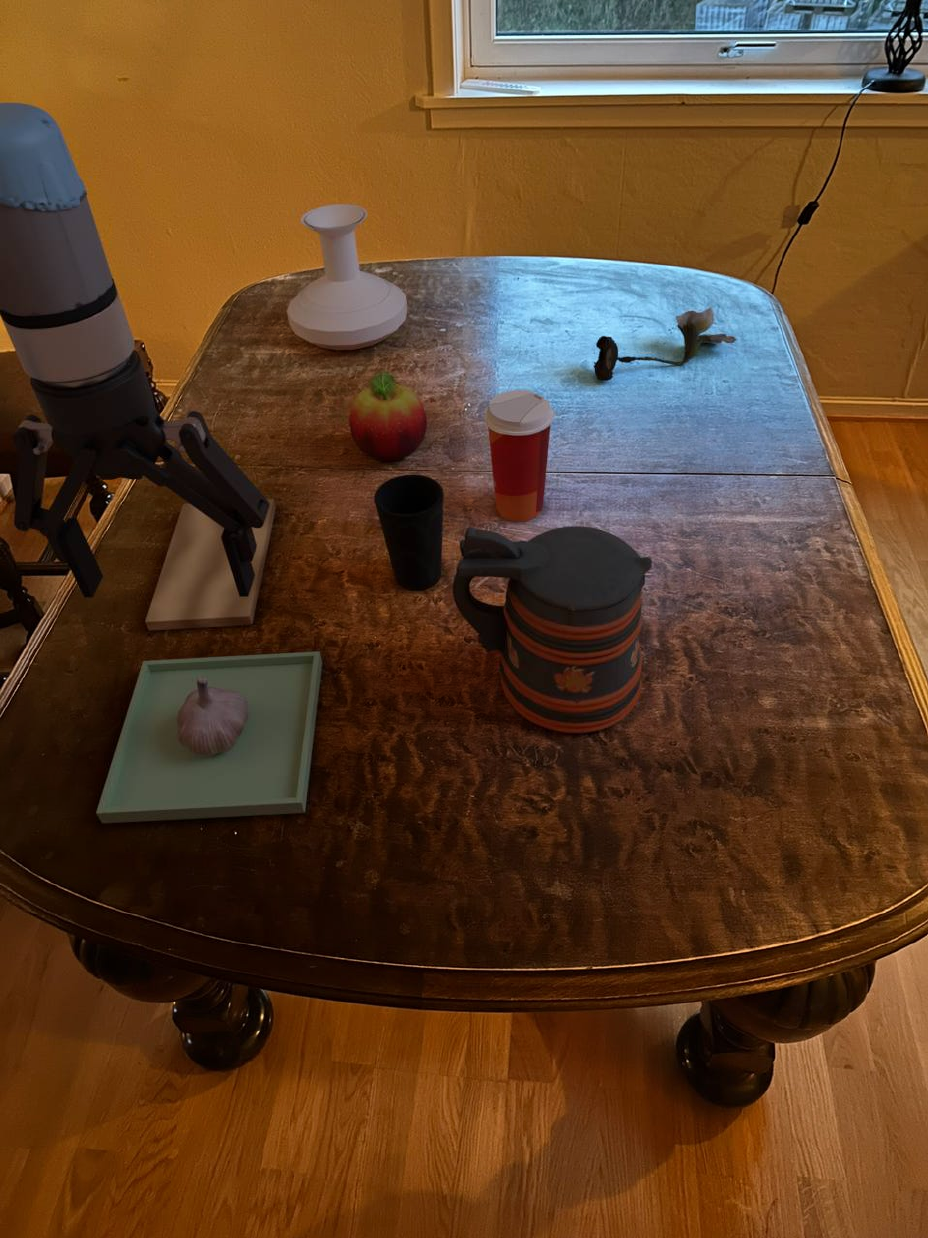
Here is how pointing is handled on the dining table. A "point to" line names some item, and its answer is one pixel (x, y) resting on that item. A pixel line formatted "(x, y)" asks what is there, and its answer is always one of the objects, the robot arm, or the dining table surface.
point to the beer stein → (560, 622)
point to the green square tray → (228, 781)
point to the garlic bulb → (211, 719)
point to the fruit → (387, 420)
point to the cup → (412, 528)
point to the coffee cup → (519, 452)
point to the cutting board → (204, 577)
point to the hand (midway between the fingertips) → (170, 586)
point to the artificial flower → (689, 327)
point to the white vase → (344, 289)
